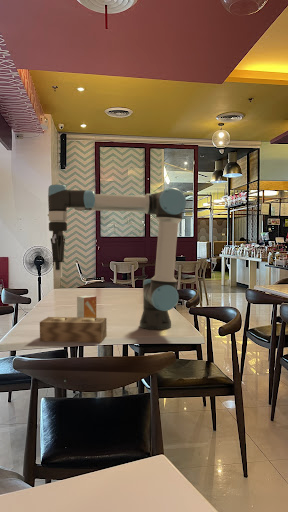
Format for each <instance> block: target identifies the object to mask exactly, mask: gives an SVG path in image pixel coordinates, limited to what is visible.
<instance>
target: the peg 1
mask: <svg viewBox="0 0 288 512" xmlns="http://www.w3.org/2000/svg"><path fill="white" fill-rule="evenodd" d="M53 321H65V318H53Z"/></svg>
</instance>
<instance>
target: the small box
mask: <svg viewBox="0 0 288 512" xmlns="http://www.w3.org/2000/svg"><path fill="white" fill-rule="evenodd" d="M76 317H84V318H97V296H96V295H81V296H76Z"/></svg>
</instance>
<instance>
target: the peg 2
mask: <svg viewBox="0 0 288 512" xmlns="http://www.w3.org/2000/svg"><path fill="white" fill-rule="evenodd" d="M83 321H84V322H94V321H95V319H94V318H85V319H83Z"/></svg>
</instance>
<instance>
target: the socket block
mask: <svg viewBox="0 0 288 512" xmlns="http://www.w3.org/2000/svg"><path fill="white" fill-rule="evenodd" d="M53 318H65V321H53ZM83 319H85V318H84V317H77V316H76V317H75V316H73V317H72V316H70V317H69V316H48V317H46V318H44V319H42V320H40V322H39V342H63V343H64V342H66V343H102V342H104V340H105V339H106V338H107V329H108V328H107V326H108V325H107V317H96V318H94V319H95V321H94V322H84V321H83Z"/></svg>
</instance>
